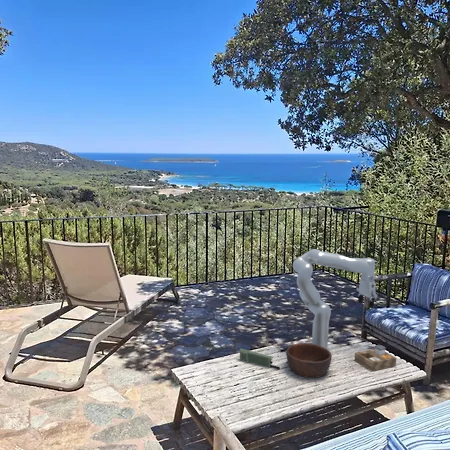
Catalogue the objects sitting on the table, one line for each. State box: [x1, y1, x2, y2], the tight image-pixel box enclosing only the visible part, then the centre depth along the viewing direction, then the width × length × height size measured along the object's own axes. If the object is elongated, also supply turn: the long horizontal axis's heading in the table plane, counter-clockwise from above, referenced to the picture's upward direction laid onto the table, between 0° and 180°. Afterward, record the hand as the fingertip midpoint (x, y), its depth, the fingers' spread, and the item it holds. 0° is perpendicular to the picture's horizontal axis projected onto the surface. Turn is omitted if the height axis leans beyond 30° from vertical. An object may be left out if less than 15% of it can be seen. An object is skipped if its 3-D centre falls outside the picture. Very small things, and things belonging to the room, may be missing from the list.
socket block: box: [354, 348, 397, 372], centre depth 238 cm, size 18×14×5 cm
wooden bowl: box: [285, 342, 333, 379], centre depth 229 cm, size 25×25×10 cm
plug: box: [374, 344, 386, 356], centre depth 240 cm, size 4×4×8 cm
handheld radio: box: [239, 348, 281, 370], centre depth 234 cm, size 7×3×25 cm
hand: (365, 304), depth 256 cm, fingers open, 9 cm apart
